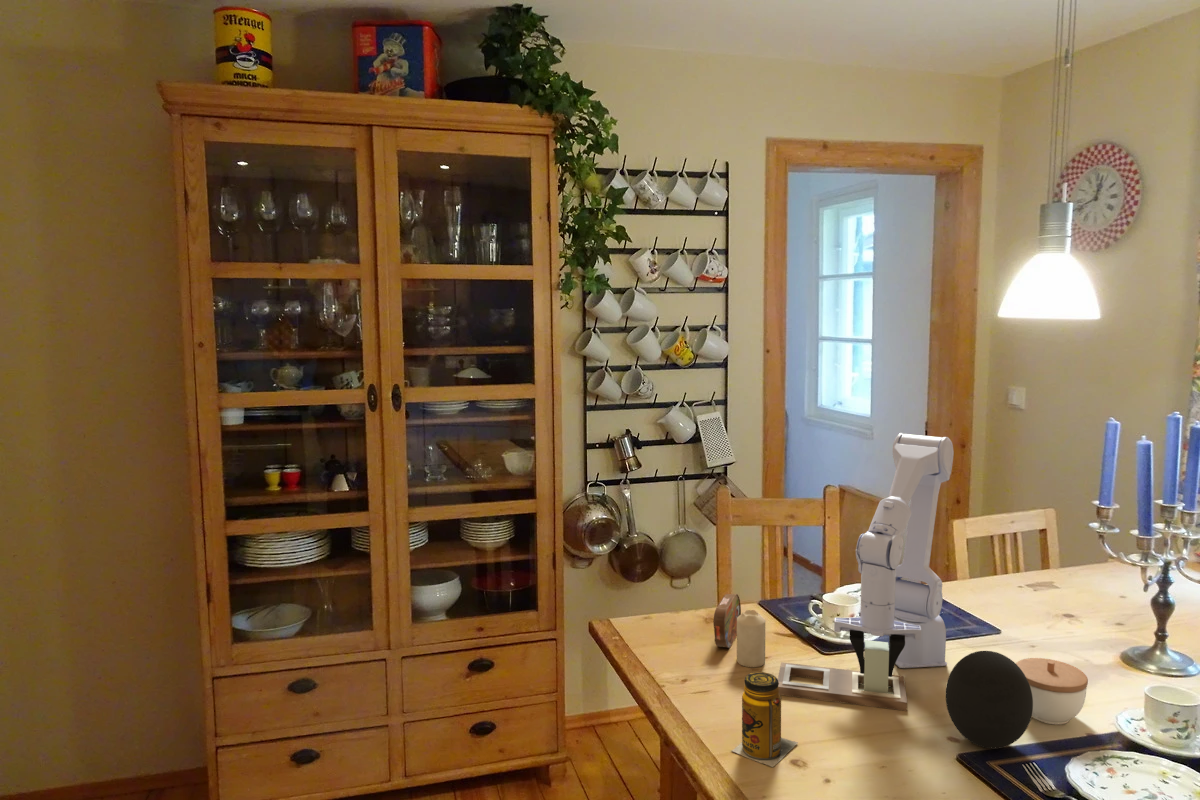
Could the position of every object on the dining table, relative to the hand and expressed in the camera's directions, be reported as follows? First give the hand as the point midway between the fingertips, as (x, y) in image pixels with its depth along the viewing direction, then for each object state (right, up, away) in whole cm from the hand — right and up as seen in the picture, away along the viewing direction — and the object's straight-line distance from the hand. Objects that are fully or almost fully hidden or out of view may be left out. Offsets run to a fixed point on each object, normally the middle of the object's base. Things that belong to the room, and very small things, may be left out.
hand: (875, 672), depth 144 cm
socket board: (-6, -4, +2) cm, 7 cm away
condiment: (-23, -7, -16) cm, 29 cm away
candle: (-20, -3, +14) cm, 24 cm away
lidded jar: (+26, -5, -8) cm, 28 cm away
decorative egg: (+12, -6, -16) cm, 21 cm away
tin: (-23, -2, +25) cm, 34 cm away
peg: (0, -3, 0) cm, 3 cm away
